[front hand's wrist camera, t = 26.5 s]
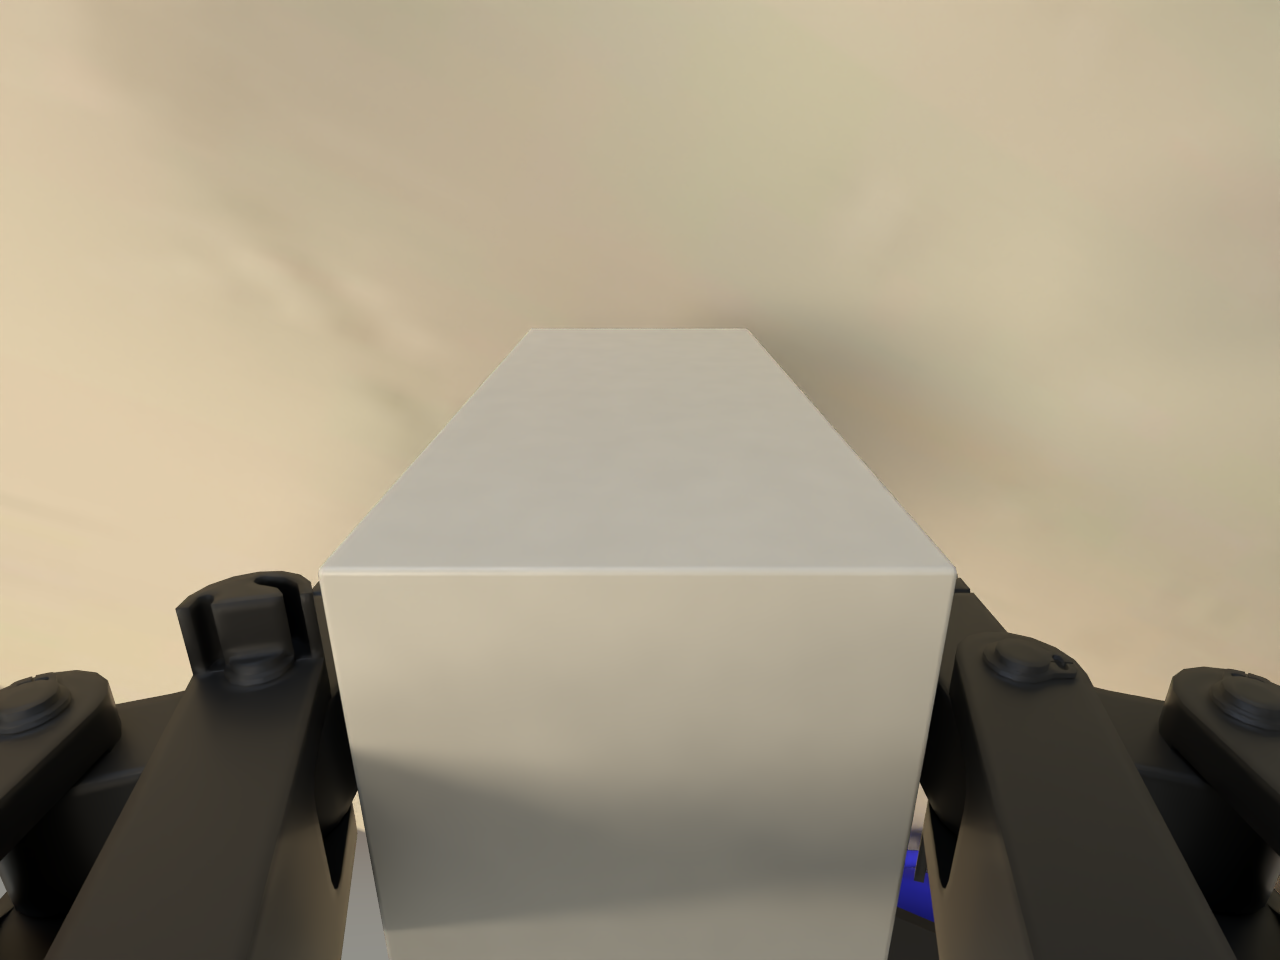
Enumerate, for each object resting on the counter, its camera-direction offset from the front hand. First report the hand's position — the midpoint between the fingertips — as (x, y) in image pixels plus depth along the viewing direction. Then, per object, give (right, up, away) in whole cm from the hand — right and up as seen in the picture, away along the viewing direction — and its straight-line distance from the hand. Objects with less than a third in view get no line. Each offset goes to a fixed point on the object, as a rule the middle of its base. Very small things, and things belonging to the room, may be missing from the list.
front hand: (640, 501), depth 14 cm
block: (0, +1, +3) cm, 4 cm away
